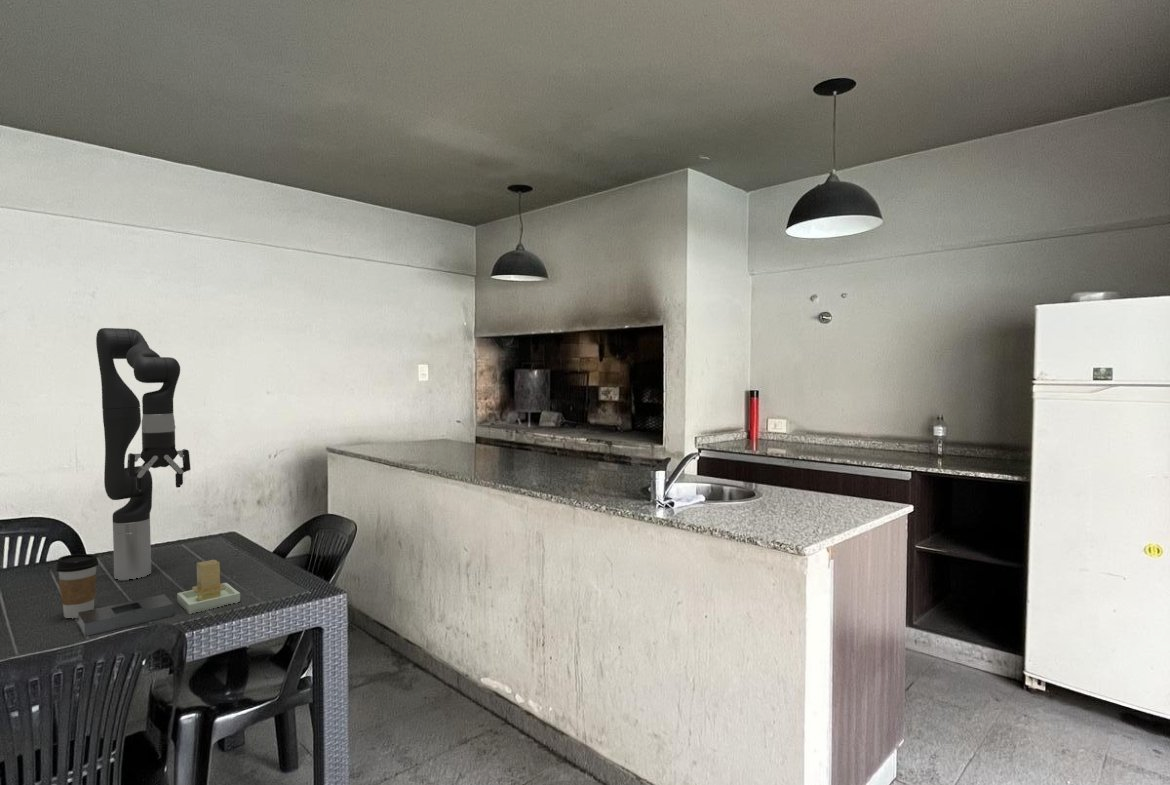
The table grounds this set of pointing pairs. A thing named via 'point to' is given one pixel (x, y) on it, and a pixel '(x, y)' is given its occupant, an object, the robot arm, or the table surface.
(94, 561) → the coffee cup
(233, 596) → the parts tray
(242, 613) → the table surface
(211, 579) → the brass plug
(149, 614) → the grey metal block
